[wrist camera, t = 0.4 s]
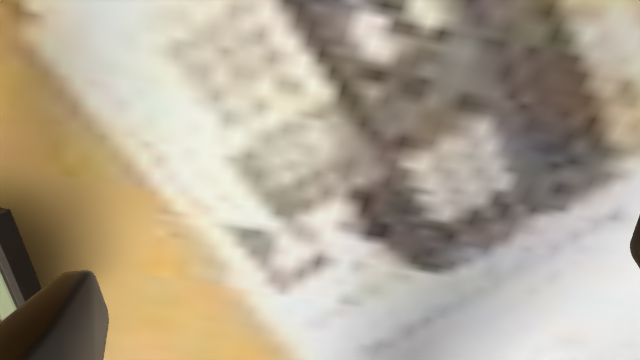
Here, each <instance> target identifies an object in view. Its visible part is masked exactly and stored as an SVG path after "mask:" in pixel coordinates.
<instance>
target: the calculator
mask: <svg viewBox="0 0 640 360" xmlns="http://www.w3.org/2000/svg"><path fill="white" fill-rule="evenodd" d="M41 289H42V288H41V286H40V283H39V281H38V278H37V276H36V273H35V271H34V268H33V266H32V263H31V261H30V258H29V256H28V253H27V251H26V248H25V246H24V243H23V241H22V238H21V236H20V233H19V231H18V228H17V226H16V223H15V221H14V218H13V216H12V213H11V211H10V209H5V208H0V322H1V321H2V320H3V319H5V318H6V317H7V316H8V315H10V314H11V313H12V312H13V311H15V310H16V309H17V308H18V307H20V306H21V305H22V304H24V303H25V302H26V301H27V300H29V299H30V298H31V297H32V296H34V295H35V294H36V293H37V292H39V291H40V290H41Z"/></svg>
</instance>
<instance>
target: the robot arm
mask: <svg viewBox="0 0 640 360" xmlns="http://www.w3.org/2000/svg"><path fill="white" fill-rule="evenodd" d="M630 250H631V254H632V257H633V258H634V260H635V262H636V263H637V265H638V266H639V268H640V216H639V218H638V221H637V224H636V227H635V230H634V233H633V236H632V239H631V242H630ZM108 323H109V317H108V310H107V307H106V304H105V301H104V298H103V296H102V293H101V290H100V287H99V284H98V282H97V279H96V276H95V275H94V273H93V272H91V271H89V270H81V271H73V272H65V273H62V274H60V275H59V276H57V277H56V278H55V279H54V280H52V281H51V282H50V283H49V284H47V285H46V286H45V287H44V288H42V289H41V290H40V291H39V292H37V293H36V294H35V295H34V296H32V297H31V298H30V299H29V300H27V301H26V302H25V303H24V304H22V305H21V306H20V307H18V308H17V309H16V310H15V311H13V312H12V313H11V314H10V315H8V316H7V317H6V318H5V319H3V320H2V321H1V322H0V360H103V358H104V351H105V344H106V338H107V331H108Z"/></svg>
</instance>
